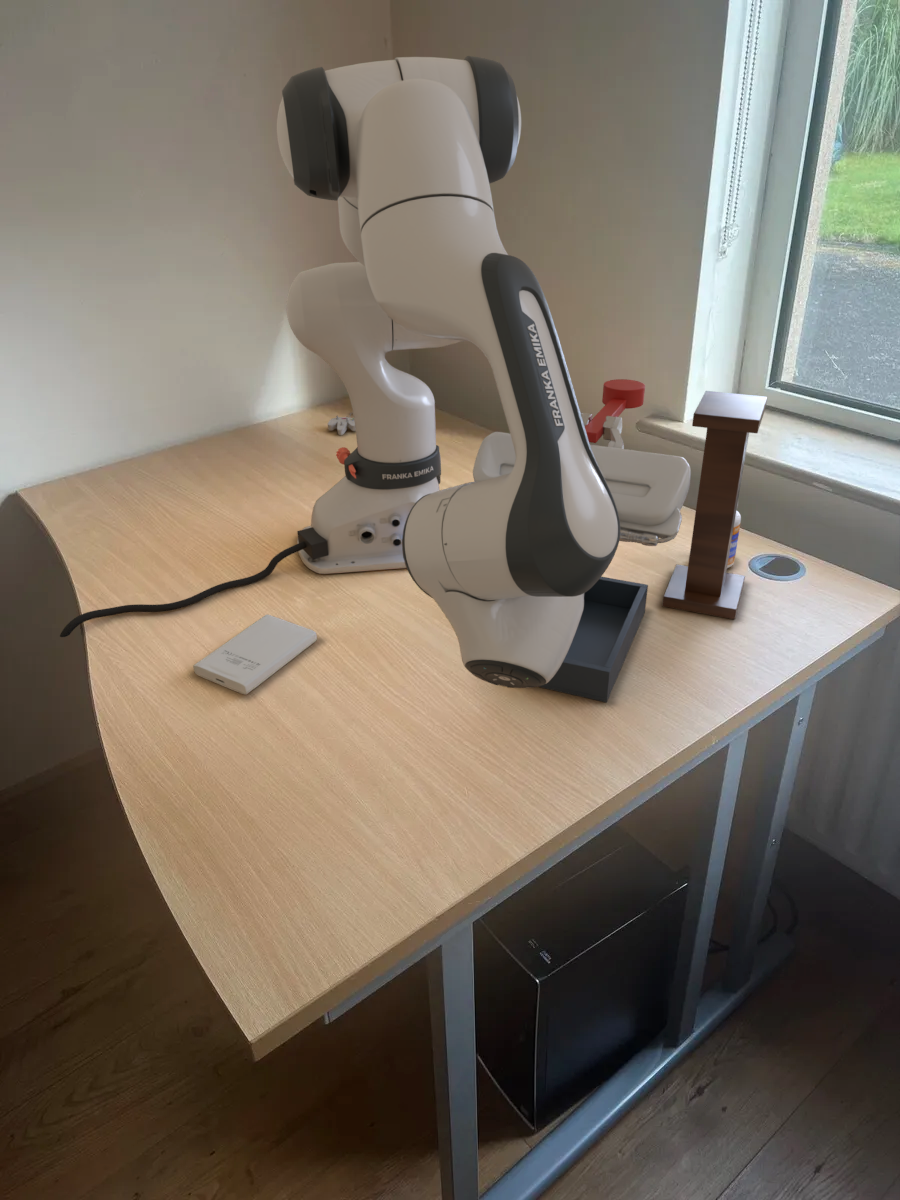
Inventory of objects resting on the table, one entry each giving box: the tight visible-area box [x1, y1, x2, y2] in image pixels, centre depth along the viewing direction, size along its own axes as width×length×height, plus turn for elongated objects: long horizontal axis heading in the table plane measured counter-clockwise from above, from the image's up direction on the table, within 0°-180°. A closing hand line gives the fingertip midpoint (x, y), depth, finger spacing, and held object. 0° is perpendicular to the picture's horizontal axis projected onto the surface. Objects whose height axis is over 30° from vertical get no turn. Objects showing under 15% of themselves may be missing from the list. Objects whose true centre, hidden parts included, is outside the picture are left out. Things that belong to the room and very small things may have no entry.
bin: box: [538, 576, 649, 703], centre depth 102 cm, size 20×10×4 cm, turn 157°
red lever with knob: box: [585, 378, 646, 444], centre depth 88 cm, size 16×4×2 cm, turn 157°
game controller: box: [327, 412, 356, 436], centre depth 169 cm, size 6×12×3 cm, turn 12°
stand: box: [661, 390, 768, 620], centre depth 105 cm, size 10×9×26 cm
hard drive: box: [192, 614, 318, 696], centre depth 102 cm, size 2×8×12 cm
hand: (600, 418), depth 85 cm, fingers closed on red lever with knob, 2 cm apart
